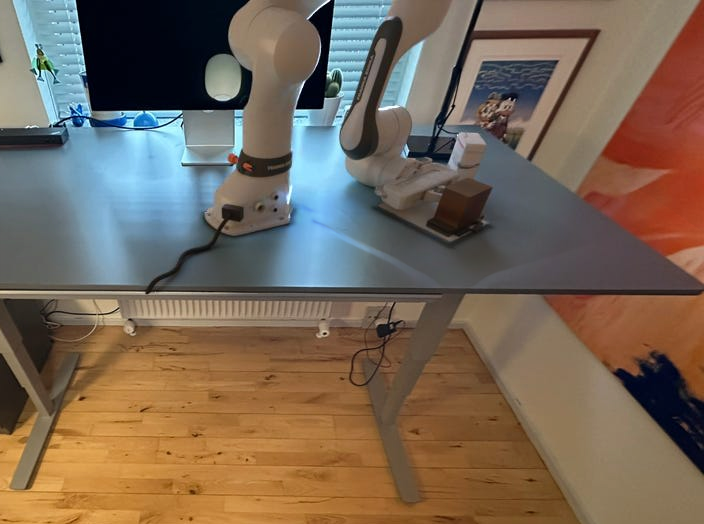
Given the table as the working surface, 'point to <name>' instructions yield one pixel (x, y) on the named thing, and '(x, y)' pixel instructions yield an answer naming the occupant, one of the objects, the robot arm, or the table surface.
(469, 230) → the marker stroke
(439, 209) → the eraser
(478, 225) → the bar
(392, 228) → the table surface
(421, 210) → the whiteboard
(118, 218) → the table surface
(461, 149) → the ink box
